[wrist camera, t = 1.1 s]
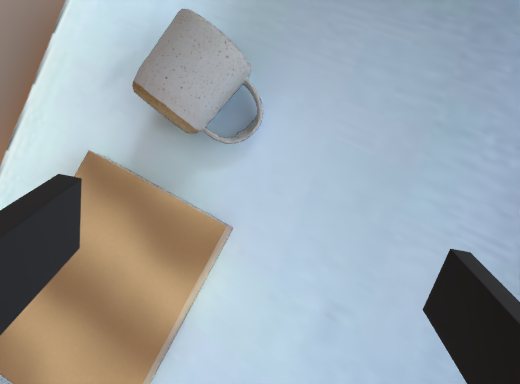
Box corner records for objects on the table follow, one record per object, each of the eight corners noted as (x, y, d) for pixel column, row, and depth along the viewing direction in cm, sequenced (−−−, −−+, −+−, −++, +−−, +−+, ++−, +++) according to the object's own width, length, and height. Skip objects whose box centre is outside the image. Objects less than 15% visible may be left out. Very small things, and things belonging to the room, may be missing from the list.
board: (103, 156, 37) (88, 150, 34) (233, 227, 34) (226, 226, 31) (-3, 347, 36) (-26, 354, 33) (121, 437, 33) (105, 453, 30)
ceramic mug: (149, 105, 37) (106, 71, 29) (200, 40, 37) (170, -11, 29) (231, 168, 35) (208, 149, 27) (284, 99, 35) (276, 61, 27)
